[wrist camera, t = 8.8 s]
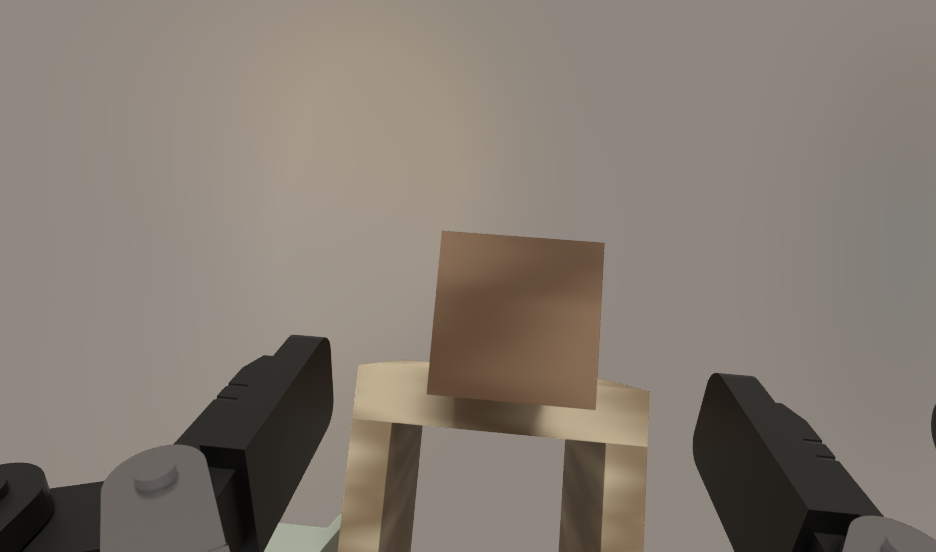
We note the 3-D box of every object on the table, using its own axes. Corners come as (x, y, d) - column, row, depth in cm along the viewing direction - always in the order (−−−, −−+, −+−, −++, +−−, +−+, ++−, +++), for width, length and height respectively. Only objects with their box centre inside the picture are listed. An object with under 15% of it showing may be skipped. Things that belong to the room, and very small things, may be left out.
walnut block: (523, 367, 34) (527, 315, 35) (596, 410, 11) (604, 243, 11) (471, 363, 35) (475, 310, 35) (426, 394, 11) (441, 230, 11)
